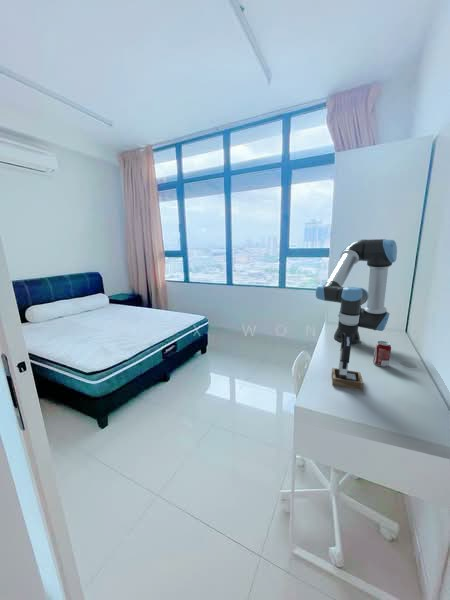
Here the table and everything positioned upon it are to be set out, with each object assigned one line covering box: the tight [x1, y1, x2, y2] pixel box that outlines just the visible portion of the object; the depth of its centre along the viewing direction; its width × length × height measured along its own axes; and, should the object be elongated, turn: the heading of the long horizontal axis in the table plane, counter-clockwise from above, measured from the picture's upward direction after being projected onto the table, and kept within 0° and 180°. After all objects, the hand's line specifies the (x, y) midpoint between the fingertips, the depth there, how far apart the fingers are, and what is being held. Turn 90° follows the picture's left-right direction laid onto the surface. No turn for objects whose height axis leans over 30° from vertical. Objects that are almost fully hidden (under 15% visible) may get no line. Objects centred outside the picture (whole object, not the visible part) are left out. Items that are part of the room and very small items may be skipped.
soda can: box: [372, 340, 392, 368], centre depth 127 cm, size 7×7×12 cm
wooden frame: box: [331, 367, 365, 392], centre depth 112 cm, size 10×12×4 cm
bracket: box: [337, 347, 356, 381], centre depth 110 cm, size 7×5×14 cm
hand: (342, 371), depth 112 cm, fingers closed on bracket, 5 cm apart
